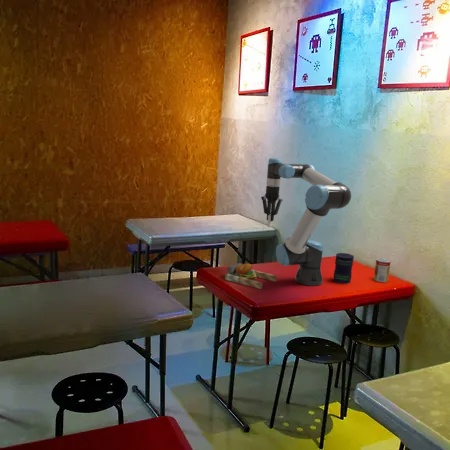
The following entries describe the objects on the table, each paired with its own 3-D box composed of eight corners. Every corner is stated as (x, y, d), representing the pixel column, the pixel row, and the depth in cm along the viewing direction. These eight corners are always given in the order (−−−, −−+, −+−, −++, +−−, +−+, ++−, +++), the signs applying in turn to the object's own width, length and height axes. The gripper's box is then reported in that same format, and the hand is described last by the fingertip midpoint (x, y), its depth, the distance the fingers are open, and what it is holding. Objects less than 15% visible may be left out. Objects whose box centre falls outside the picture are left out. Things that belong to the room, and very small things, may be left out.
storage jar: (346, 284, 274) (349, 258, 271) (330, 280, 280) (333, 255, 277) (353, 281, 282) (356, 255, 279) (337, 276, 288) (340, 252, 285)
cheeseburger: (258, 282, 268) (255, 265, 266) (239, 286, 268) (236, 269, 265) (255, 276, 278) (252, 259, 276) (236, 280, 277) (233, 263, 275)
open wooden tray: (276, 280, 273) (277, 270, 272) (260, 288, 258) (261, 277, 257) (240, 271, 285) (241, 261, 284) (223, 279, 270) (224, 268, 269)
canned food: (386, 278, 291) (388, 258, 288) (389, 282, 283) (392, 262, 281) (372, 277, 291) (375, 257, 289) (375, 281, 284) (377, 261, 281)
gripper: (286, 186, 281) (282, 227, 286) (265, 183, 288) (262, 223, 293) (280, 187, 275) (276, 229, 280) (259, 184, 282) (256, 225, 287)
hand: (269, 226), depth 286 cm, fingers closed
